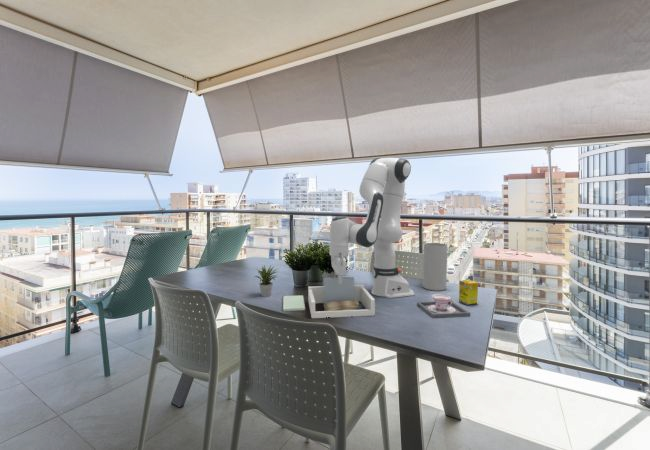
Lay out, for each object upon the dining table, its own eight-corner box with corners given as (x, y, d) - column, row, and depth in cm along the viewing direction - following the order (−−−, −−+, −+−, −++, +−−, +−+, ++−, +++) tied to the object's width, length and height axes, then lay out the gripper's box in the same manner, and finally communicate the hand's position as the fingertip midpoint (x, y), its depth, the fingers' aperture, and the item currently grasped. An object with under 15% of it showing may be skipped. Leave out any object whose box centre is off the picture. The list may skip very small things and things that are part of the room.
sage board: (303, 297, 171) (303, 295, 171) (305, 310, 151) (305, 308, 151) (283, 297, 170) (283, 296, 170) (283, 311, 150) (283, 308, 150)
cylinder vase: (448, 291, 180) (449, 246, 178) (424, 290, 182) (425, 245, 180) (443, 285, 192) (444, 243, 190) (421, 284, 194) (422, 242, 192)
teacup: (423, 309, 152) (423, 296, 151) (435, 304, 160) (436, 291, 159) (448, 316, 143) (448, 302, 142) (460, 310, 151) (460, 296, 151)
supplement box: (458, 302, 162) (459, 280, 161) (468, 301, 164) (468, 279, 163) (467, 306, 156) (468, 283, 155) (477, 304, 158) (478, 282, 157)
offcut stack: (354, 308, 154) (354, 299, 153) (359, 313, 147) (359, 303, 147) (324, 311, 150) (324, 302, 149) (328, 316, 143) (328, 306, 143)
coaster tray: (450, 303, 160) (450, 300, 159) (470, 316, 143) (470, 312, 143) (417, 305, 158) (417, 302, 157) (432, 317, 141) (432, 314, 141)
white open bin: (363, 300, 166) (363, 284, 165) (374, 315, 144) (374, 297, 143) (308, 302, 163) (308, 286, 162) (311, 318, 141) (311, 300, 140)
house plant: (274, 300, 165) (273, 268, 164) (248, 299, 168) (247, 267, 167) (283, 292, 179) (282, 262, 178) (259, 291, 182) (258, 262, 181)
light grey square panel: (353, 305, 157) (353, 276, 156) (354, 307, 154) (354, 278, 153) (323, 307, 155) (323, 277, 154) (324, 309, 153) (324, 279, 151)
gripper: (350, 255, 142) (349, 286, 144) (341, 248, 163) (341, 275, 164) (335, 255, 142) (334, 286, 143) (329, 248, 162) (328, 276, 163)
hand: (338, 280), depth 153 cm, fingers open, 8 cm apart
